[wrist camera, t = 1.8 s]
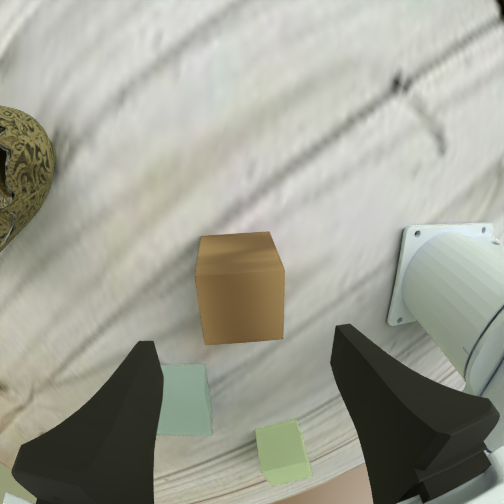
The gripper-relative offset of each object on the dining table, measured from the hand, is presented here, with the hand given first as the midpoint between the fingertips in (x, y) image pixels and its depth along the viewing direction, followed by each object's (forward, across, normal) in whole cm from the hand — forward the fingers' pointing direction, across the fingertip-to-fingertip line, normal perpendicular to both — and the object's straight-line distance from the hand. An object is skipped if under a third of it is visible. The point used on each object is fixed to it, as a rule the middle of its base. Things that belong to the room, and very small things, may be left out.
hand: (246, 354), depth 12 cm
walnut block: (+8, 0, 0) cm, 8 cm away
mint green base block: (+8, +6, +11) cm, 15 cm away
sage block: (+8, -3, +19) cm, 21 cm away
